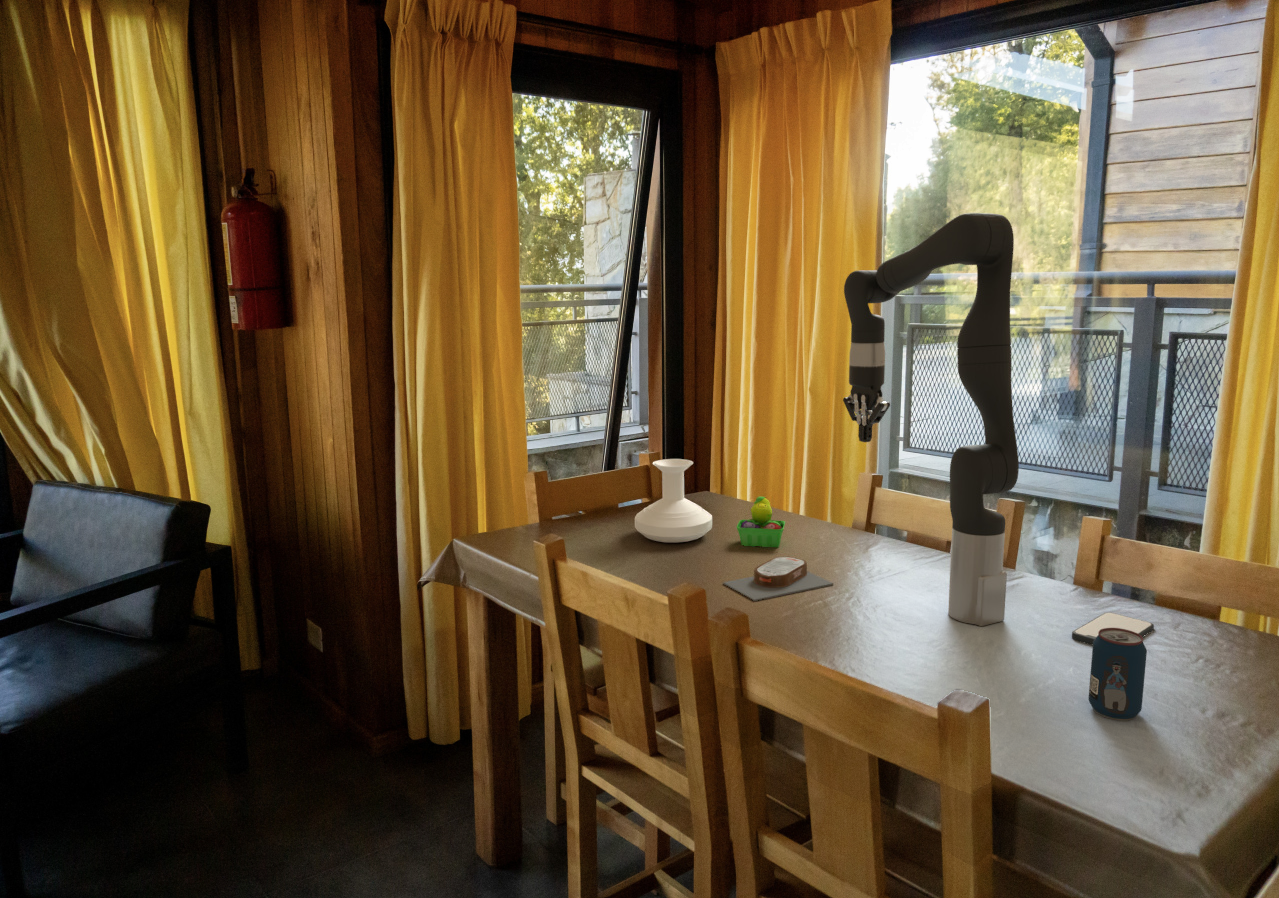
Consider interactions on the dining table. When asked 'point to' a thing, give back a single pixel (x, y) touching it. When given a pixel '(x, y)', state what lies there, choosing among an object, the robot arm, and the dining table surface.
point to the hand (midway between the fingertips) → (864, 441)
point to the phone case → (1110, 626)
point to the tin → (780, 572)
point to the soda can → (1117, 674)
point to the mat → (761, 592)
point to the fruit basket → (760, 526)
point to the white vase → (673, 509)
